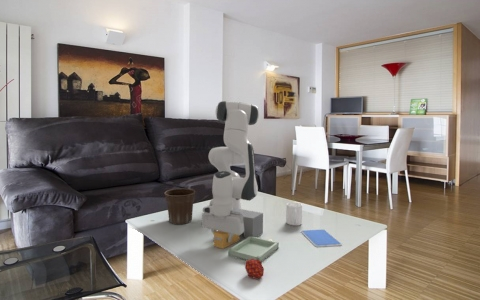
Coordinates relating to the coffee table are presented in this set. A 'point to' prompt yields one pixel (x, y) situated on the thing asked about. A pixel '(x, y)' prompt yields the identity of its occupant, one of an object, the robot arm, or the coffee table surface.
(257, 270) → the red bumpy oval lump
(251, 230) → the block
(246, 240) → the tray
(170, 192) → the plant pot
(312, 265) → the coffee table surface
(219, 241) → the orange rectangular block
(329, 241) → the tablet computer
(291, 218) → the mug
